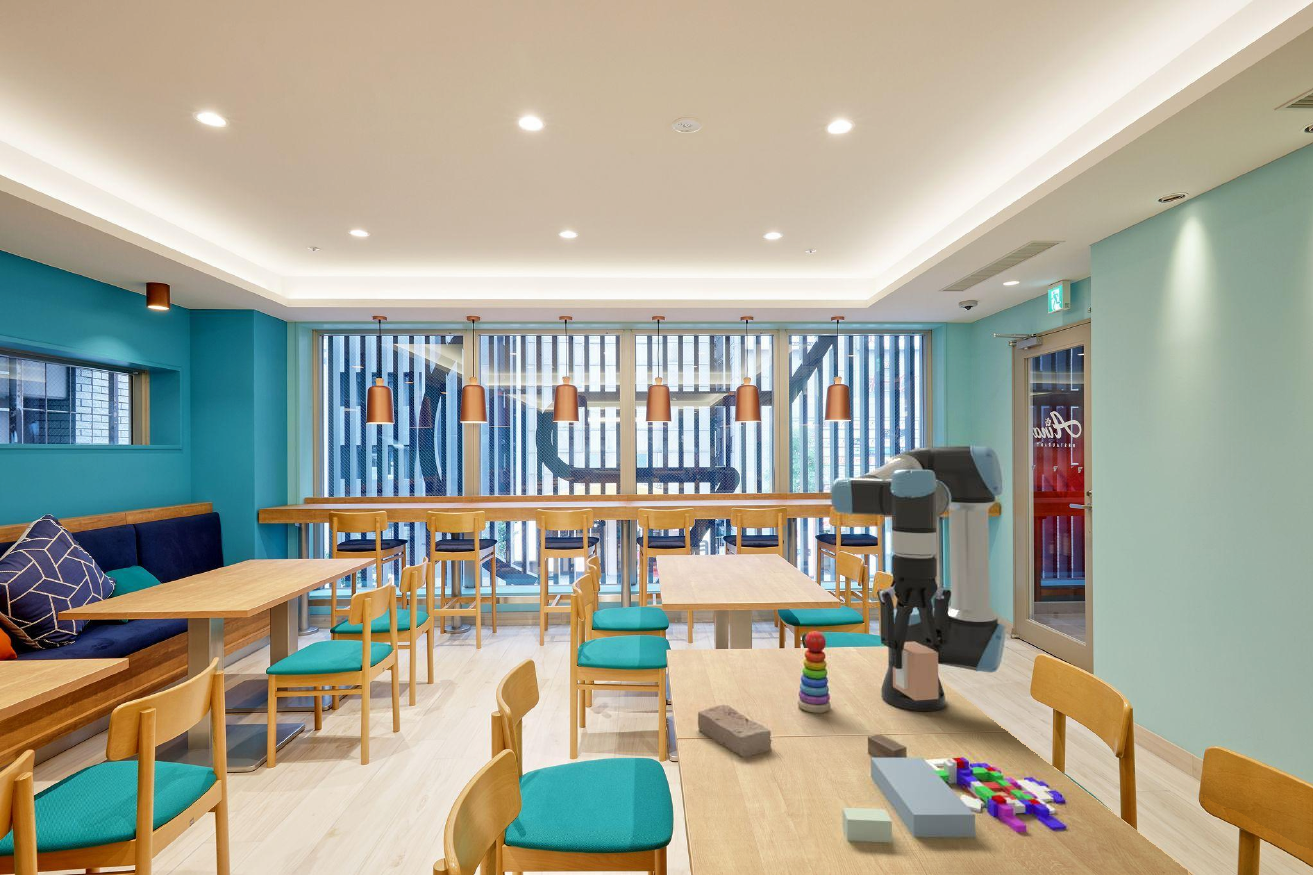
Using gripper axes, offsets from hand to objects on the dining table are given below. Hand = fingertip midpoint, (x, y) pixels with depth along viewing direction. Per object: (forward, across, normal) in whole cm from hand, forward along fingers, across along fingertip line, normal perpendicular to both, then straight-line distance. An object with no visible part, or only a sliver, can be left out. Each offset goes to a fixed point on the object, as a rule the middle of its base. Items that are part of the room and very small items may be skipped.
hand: (915, 685), depth 115 cm
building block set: (+22, -17, -1) cm, 28 cm away
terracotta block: (+1, 0, 0) cm, 1 cm away
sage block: (+21, +14, +7) cm, 26 cm away
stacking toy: (+21, -1, -45) cm, 49 cm away
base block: (+21, 0, 0) cm, 21 cm away
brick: (+21, +24, -31) cm, 45 cm away
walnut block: (+21, -4, -17) cm, 27 cm away
